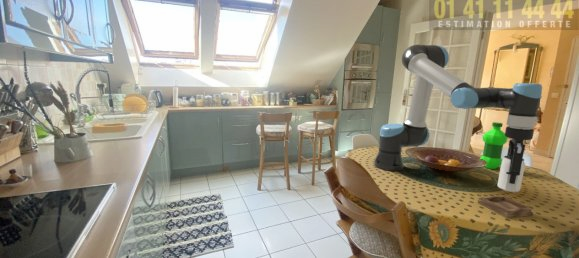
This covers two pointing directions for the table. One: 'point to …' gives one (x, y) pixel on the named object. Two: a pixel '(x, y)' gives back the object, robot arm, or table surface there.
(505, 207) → the tray
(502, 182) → the can
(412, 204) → the table surface
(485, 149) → the plastic bottle
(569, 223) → the table surface
